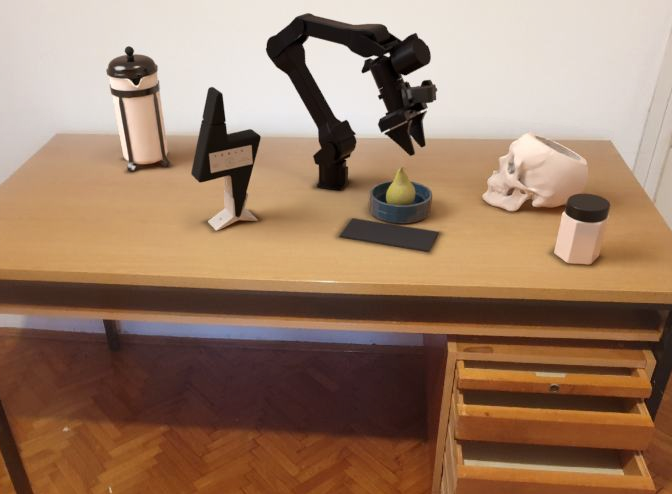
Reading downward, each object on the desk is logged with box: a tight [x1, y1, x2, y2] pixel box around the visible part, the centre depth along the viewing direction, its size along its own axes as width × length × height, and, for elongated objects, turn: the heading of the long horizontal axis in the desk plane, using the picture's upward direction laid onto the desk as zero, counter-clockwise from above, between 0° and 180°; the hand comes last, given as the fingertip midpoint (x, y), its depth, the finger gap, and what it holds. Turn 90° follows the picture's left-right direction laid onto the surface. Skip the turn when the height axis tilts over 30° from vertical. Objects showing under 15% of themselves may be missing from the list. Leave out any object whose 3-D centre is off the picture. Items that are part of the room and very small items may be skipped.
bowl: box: [368, 180, 433, 224], centre depth 163 cm, size 14×14×4 cm
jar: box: [553, 193, 611, 266], centre depth 142 cm, size 9×8×12 cm
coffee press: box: [105, 46, 171, 173], centre depth 184 cm, size 17×16×30 cm
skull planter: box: [481, 132, 589, 212], centre depth 162 cm, size 14×20×19 cm
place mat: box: [339, 217, 439, 253], centre depth 155 cm, size 20×9×1 cm, turn 68°
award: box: [191, 86, 262, 232], centre depth 153 cm, size 15×5×30 cm, turn 117°
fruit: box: [386, 165, 415, 206], centre depth 160 cm, size 7×8×12 cm
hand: (418, 150), depth 157 cm, fingers open, 9 cm apart
